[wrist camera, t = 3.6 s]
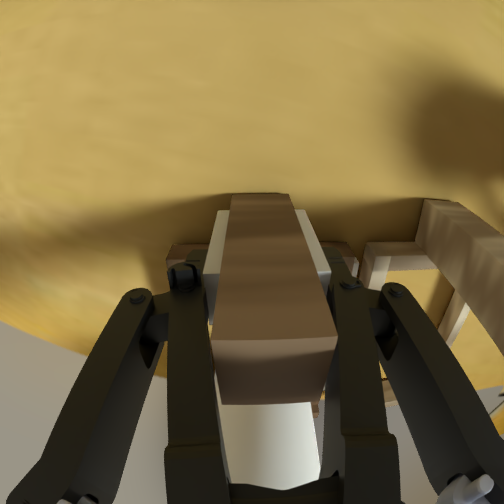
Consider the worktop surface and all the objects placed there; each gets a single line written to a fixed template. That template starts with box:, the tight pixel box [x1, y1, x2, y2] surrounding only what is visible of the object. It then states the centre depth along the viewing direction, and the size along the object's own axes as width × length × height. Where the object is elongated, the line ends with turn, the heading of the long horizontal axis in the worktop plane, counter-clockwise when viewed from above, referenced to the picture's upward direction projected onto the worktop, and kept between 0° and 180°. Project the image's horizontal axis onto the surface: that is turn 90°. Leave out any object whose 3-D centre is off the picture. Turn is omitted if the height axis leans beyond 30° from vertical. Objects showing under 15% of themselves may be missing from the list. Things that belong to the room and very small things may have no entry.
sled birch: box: [359, 199, 504, 407], centre depth 18 cm, size 22×12×12 cm, turn 1°
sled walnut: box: [166, 194, 355, 418], centre depth 18 cm, size 22×12×12 cm, turn 1°
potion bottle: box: [214, 370, 320, 490], centre depth 19 cm, size 8×8×18 cm
